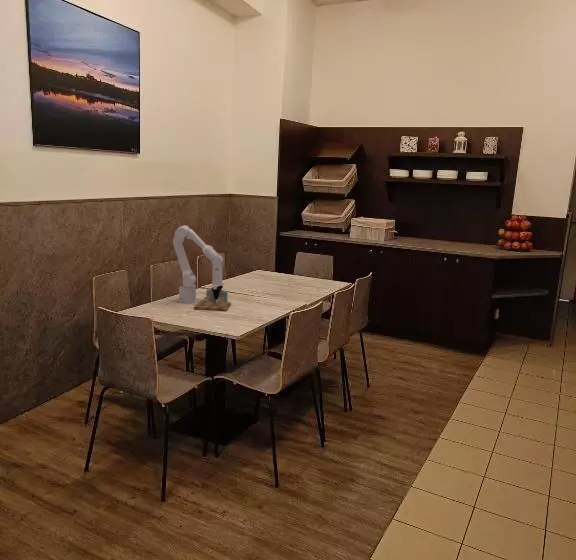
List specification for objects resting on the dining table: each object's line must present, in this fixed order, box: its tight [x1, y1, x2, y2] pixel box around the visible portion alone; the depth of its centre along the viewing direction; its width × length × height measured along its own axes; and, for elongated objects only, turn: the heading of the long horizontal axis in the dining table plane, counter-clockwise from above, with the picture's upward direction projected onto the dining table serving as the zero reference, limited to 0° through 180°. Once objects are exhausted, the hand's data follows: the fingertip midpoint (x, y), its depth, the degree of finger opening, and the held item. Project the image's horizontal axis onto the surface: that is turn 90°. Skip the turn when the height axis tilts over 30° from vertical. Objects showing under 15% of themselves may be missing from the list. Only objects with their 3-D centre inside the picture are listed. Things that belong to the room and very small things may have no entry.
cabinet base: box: [193, 296, 232, 312], centre depth 283 cm, size 18×14×5 cm
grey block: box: [205, 289, 229, 302], centre depth 294 cm, size 12×4×7 cm, turn 86°
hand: (217, 298), depth 294 cm, fingers closed on grey block, 3 cm apart
